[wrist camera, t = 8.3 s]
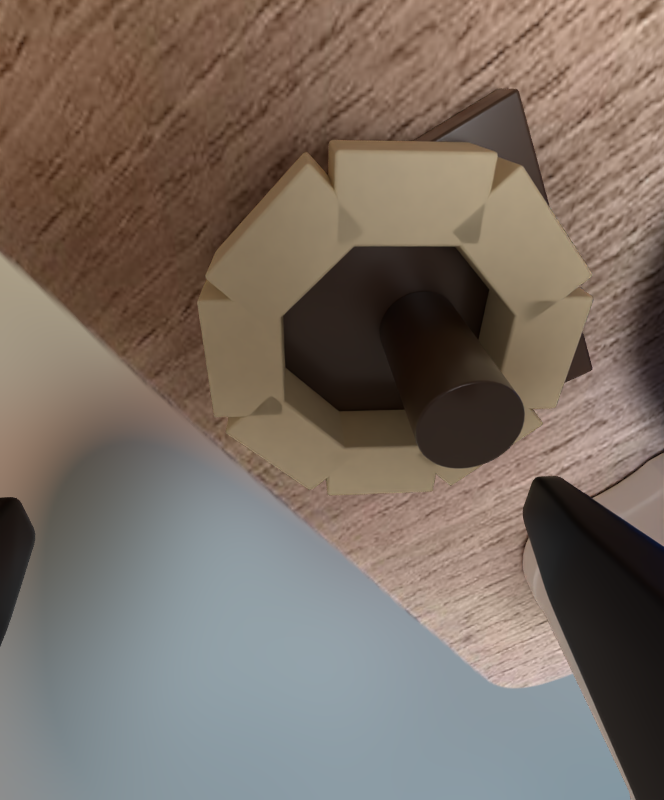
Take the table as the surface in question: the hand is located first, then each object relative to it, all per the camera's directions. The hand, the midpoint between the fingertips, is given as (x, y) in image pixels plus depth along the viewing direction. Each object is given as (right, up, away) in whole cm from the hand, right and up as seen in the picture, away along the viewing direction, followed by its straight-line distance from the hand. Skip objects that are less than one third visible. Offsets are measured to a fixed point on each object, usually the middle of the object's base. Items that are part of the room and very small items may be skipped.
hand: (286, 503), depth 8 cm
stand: (+3, +5, +7) cm, 9 cm away
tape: (+2, +4, +6) cm, 7 cm away
